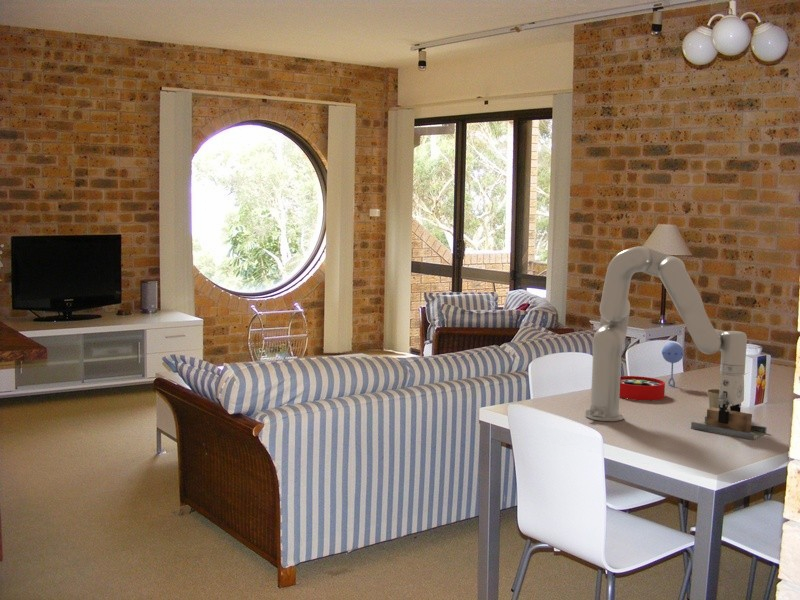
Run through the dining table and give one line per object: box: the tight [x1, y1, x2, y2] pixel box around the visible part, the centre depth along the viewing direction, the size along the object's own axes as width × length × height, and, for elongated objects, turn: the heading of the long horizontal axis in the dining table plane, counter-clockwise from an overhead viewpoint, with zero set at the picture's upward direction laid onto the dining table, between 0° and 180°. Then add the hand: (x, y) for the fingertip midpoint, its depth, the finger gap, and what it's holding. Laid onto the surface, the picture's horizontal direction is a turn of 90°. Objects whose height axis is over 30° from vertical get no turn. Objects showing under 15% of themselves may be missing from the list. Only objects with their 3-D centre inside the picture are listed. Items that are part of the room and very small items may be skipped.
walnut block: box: [706, 407, 753, 432], centre depth 287 cm, size 13×4×6 cm, turn 48°
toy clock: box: [620, 375, 666, 401], centre depth 340 cm, size 20×6×20 cm
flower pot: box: [706, 388, 732, 410], centre depth 308 cm, size 9×9×9 cm
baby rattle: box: [661, 341, 685, 387], centre depth 359 cm, size 9×9×18 cm
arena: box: [690, 415, 767, 441], centre depth 287 cm, size 12×20×2 cm, turn 49°
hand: (729, 420), depth 287 cm, fingers open, 9 cm apart
